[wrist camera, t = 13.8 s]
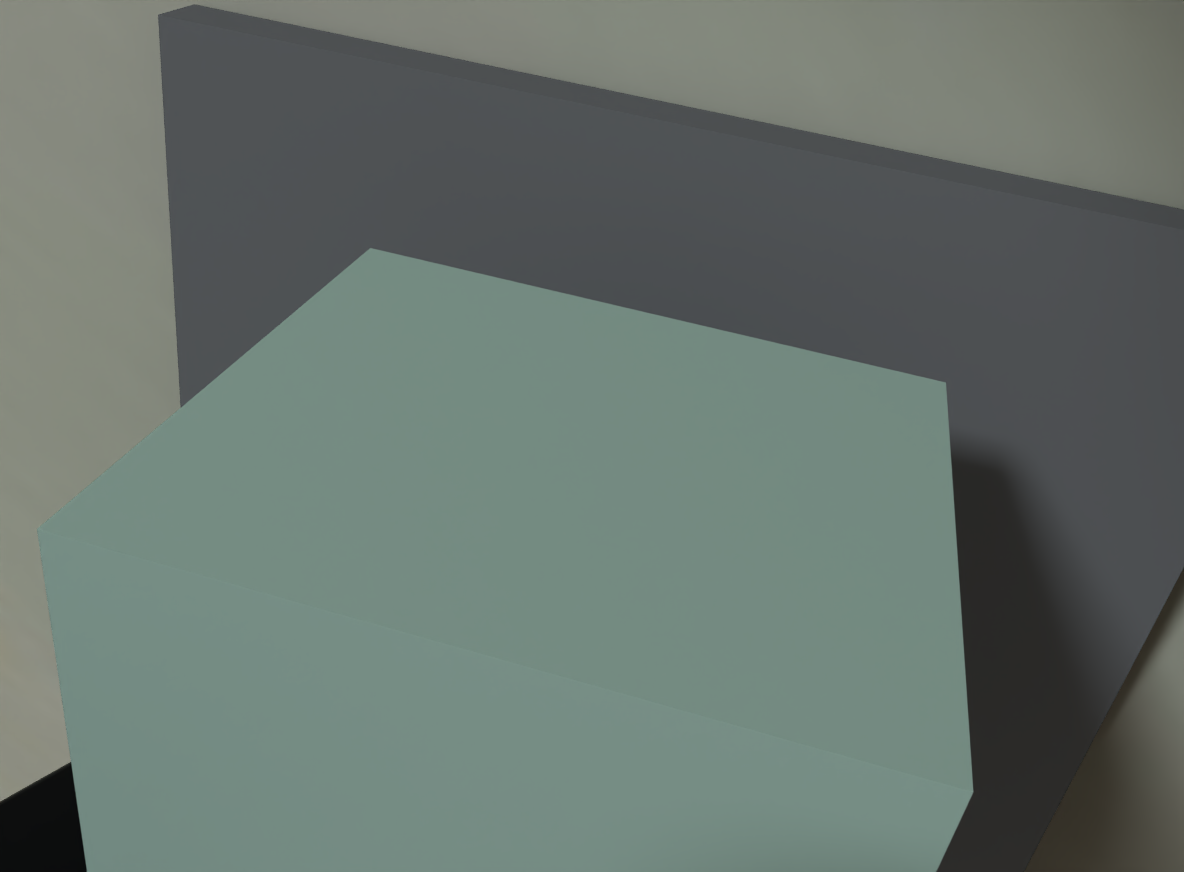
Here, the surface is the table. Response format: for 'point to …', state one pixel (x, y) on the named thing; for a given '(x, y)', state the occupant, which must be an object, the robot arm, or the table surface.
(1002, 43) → the table surface
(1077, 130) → the table surface
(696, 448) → the block
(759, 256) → the stand mat
